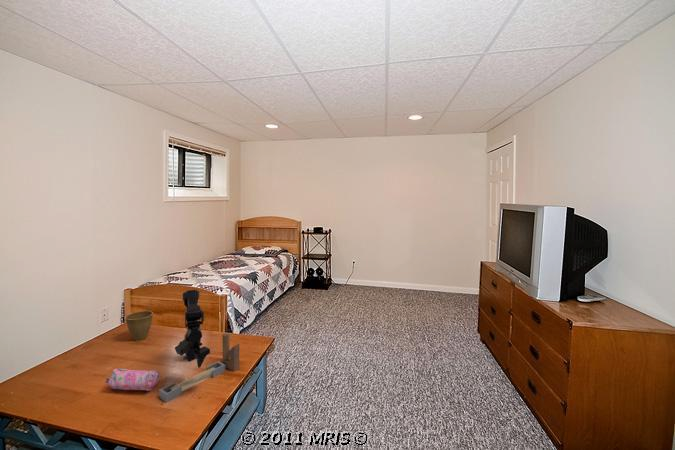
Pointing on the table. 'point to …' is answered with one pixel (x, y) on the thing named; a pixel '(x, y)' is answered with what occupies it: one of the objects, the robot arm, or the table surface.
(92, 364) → the table surface
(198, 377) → the slat
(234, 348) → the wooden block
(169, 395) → the endcap
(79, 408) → the table surface
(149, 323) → the plant pot
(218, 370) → the endcap
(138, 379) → the pencil case
